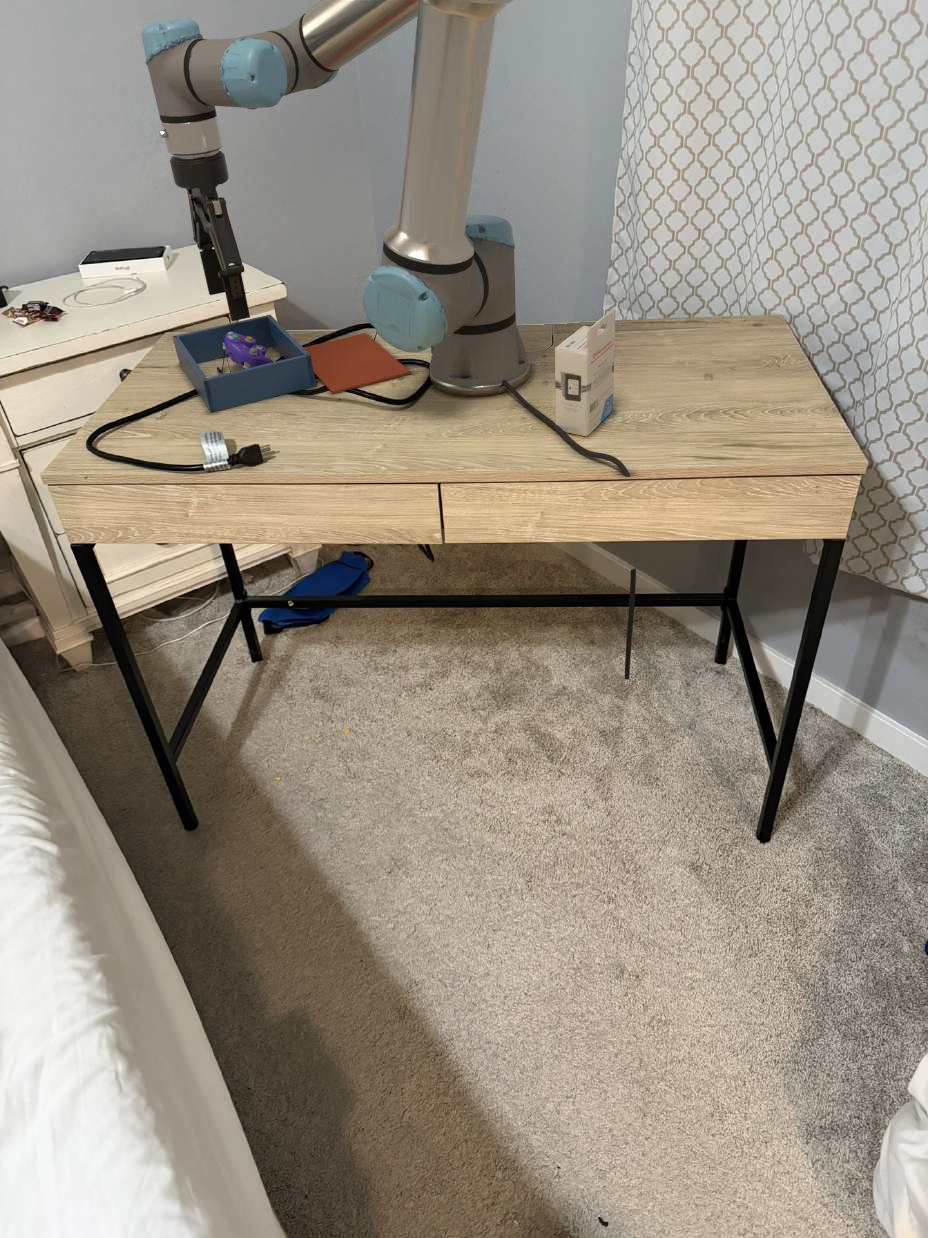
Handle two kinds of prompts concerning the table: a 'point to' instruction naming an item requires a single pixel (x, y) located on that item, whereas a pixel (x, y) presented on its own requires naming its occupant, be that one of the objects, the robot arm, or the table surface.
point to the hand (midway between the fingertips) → (229, 305)
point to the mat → (353, 363)
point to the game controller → (244, 350)
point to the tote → (248, 381)
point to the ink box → (585, 377)
